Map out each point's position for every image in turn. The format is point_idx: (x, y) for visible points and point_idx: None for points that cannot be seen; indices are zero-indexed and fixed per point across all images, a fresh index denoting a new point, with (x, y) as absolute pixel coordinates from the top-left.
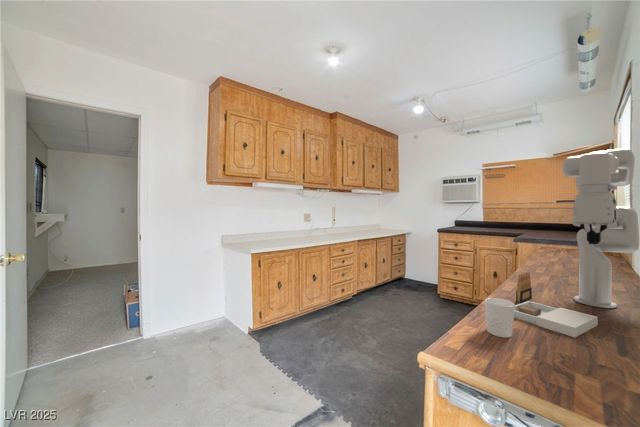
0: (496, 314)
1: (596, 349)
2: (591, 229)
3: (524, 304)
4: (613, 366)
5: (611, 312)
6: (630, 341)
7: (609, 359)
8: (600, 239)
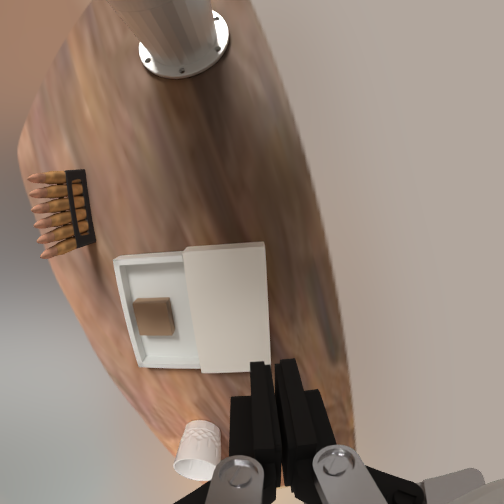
0: (208, 467)
1: (306, 373)
2: (264, 498)
3: (125, 294)
4: (333, 401)
5: (237, 85)
6: (330, 283)
7: (326, 388)
8: (321, 401)
